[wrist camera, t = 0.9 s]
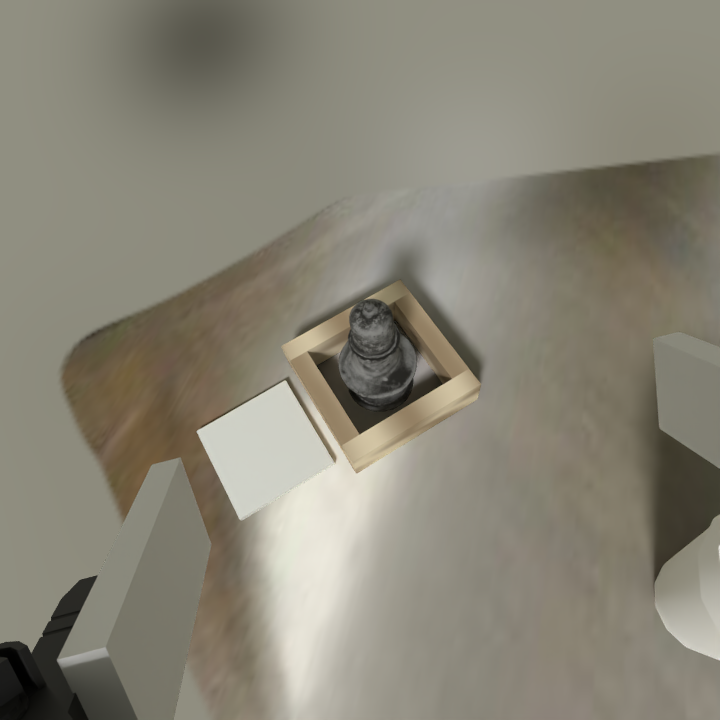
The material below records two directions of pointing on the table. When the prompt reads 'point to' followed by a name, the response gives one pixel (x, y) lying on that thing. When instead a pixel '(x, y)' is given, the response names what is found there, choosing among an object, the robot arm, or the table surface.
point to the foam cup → (693, 593)
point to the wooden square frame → (409, 420)
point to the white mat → (264, 449)
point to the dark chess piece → (377, 358)
